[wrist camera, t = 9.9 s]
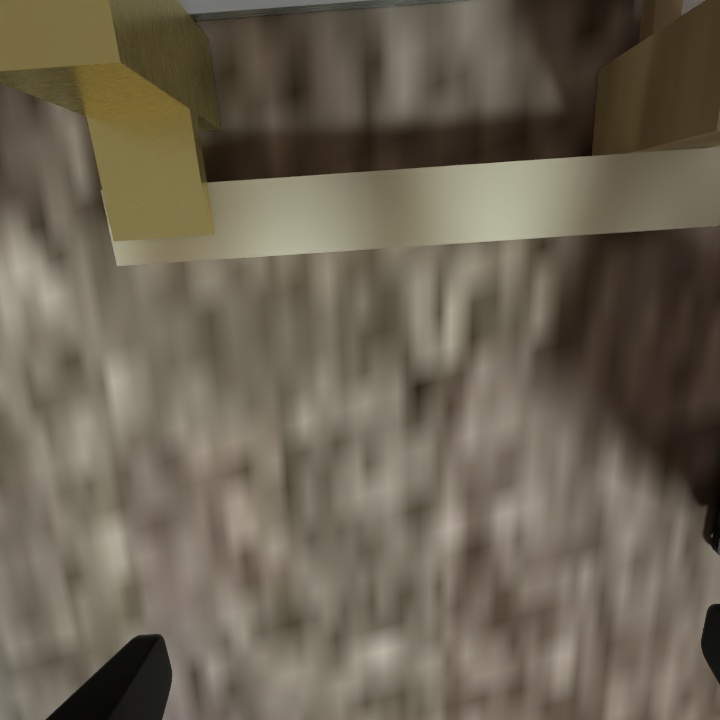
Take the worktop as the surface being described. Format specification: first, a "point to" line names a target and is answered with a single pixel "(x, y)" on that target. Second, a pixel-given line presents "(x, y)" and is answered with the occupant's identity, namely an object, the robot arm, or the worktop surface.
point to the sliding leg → (125, 100)
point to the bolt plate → (280, 6)
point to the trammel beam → (507, 172)
